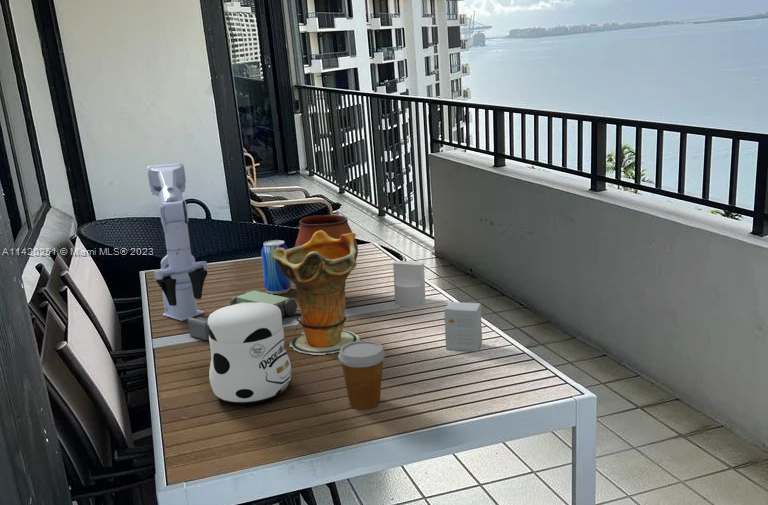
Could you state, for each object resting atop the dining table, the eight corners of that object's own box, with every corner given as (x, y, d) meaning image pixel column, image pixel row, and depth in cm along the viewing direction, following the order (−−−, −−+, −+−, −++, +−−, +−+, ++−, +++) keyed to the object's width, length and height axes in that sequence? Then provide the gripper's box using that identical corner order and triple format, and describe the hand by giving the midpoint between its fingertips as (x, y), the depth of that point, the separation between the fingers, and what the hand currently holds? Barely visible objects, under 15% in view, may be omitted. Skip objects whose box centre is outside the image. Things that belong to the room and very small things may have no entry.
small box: (482, 343, 168) (481, 303, 166) (477, 352, 163) (477, 310, 161) (450, 341, 171) (449, 301, 168) (445, 349, 166) (443, 308, 163)
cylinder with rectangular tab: (390, 305, 199) (388, 266, 196) (401, 296, 207) (399, 257, 204) (419, 308, 196) (418, 268, 193) (429, 298, 204) (428, 259, 201)
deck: (217, 316, 198) (215, 302, 196) (254, 302, 208) (253, 288, 207) (260, 328, 187) (259, 312, 185) (297, 312, 197) (296, 297, 196)
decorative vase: (264, 355, 167) (256, 242, 161) (306, 326, 188) (301, 226, 182) (342, 363, 160) (337, 246, 154) (377, 333, 181) (374, 229, 175)
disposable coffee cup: (341, 394, 145) (337, 341, 142) (385, 390, 146) (382, 338, 143) (342, 415, 136) (338, 359, 133) (389, 411, 137) (386, 356, 134)
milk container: (299, 402, 143) (291, 321, 138) (214, 417, 138) (203, 333, 134) (286, 370, 159) (279, 296, 154) (210, 382, 154) (200, 307, 150)
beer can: (286, 295, 214) (282, 245, 210) (261, 295, 215) (256, 245, 211) (295, 287, 222) (291, 239, 217) (270, 287, 223) (266, 239, 219)
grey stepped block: (189, 335, 183) (187, 318, 182) (217, 324, 191) (215, 308, 189) (206, 340, 179) (204, 323, 178) (234, 329, 186) (232, 312, 185)
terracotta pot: (338, 313, 195) (332, 227, 189) (284, 305, 205) (277, 223, 198) (372, 293, 211) (368, 214, 205) (321, 286, 221) (315, 210, 214)
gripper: (163, 254, 164) (170, 309, 166) (211, 244, 175) (218, 296, 177) (146, 253, 168) (153, 307, 170) (194, 244, 179) (201, 294, 181)
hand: (185, 301), depth 174 cm, fingers open, 7 cm apart
